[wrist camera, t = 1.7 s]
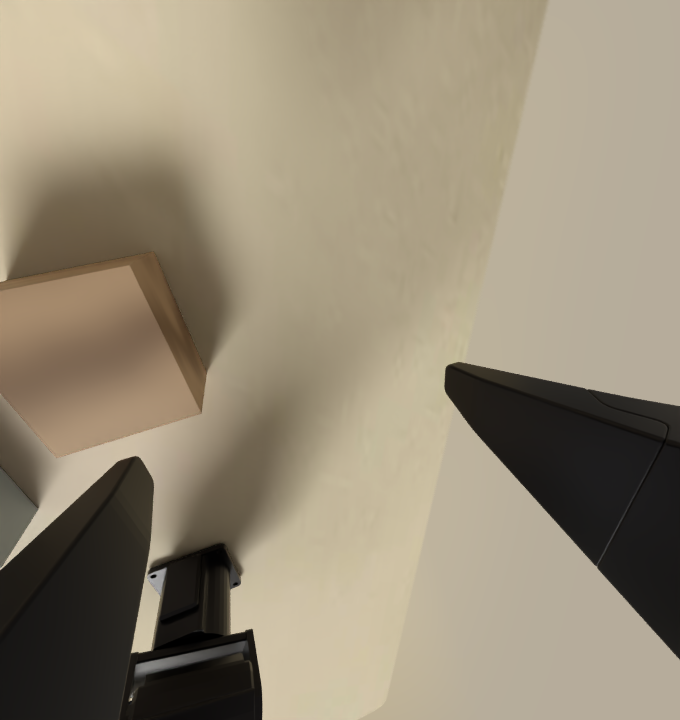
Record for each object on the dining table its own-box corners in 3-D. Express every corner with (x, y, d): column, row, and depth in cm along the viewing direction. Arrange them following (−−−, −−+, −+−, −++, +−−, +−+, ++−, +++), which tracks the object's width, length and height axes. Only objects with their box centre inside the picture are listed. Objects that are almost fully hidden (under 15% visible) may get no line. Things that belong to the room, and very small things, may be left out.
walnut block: (206, 371, 21) (201, 413, 16) (94, 403, 19) (56, 458, 15) (154, 251, 17) (129, 265, 13) (8, 279, 15) (-75, 306, 11)
